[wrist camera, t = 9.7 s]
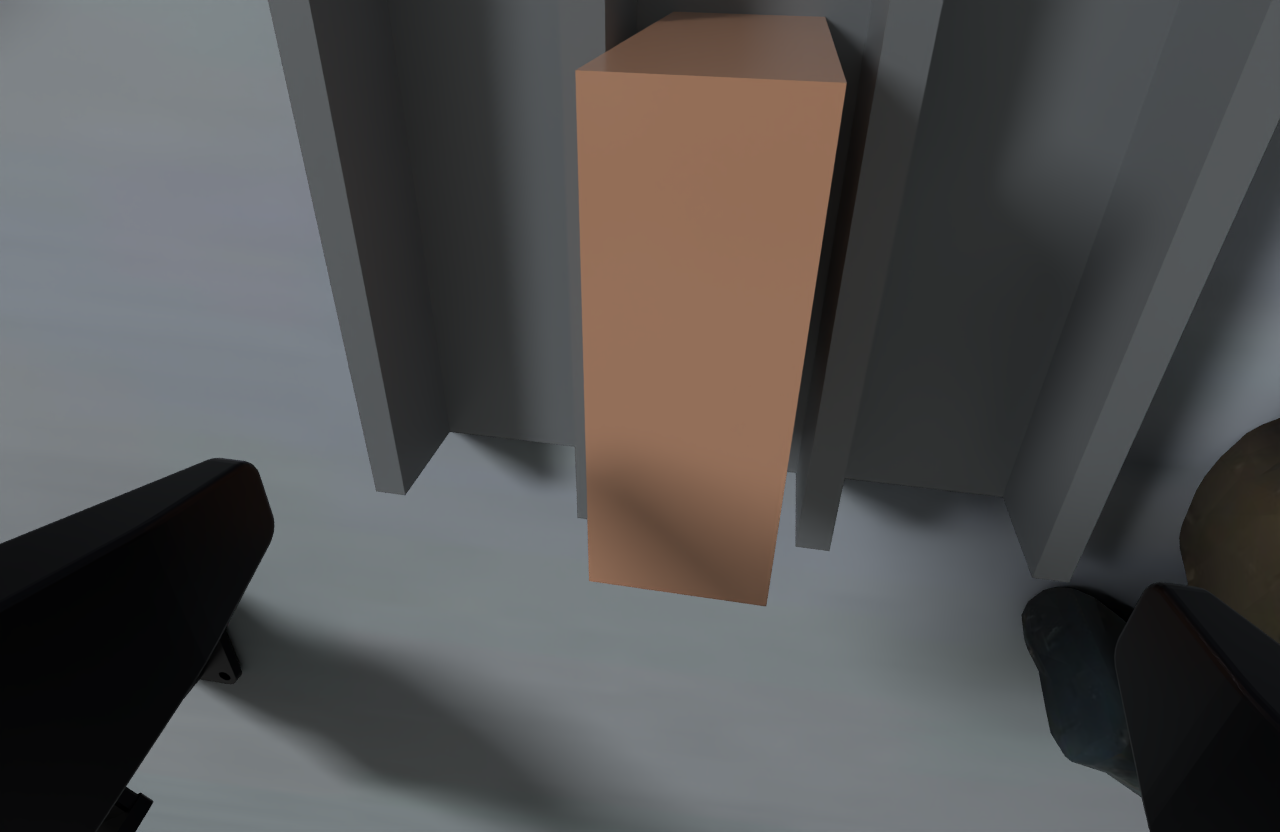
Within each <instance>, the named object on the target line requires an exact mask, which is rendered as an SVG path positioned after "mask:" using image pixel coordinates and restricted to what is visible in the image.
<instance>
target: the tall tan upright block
mask: <svg viewBox="0 0 1280 832" xmlns="http://www.w3.org/2000/svg"><path fill="white" fill-rule="evenodd" d="M575 77H576V113H577V150H578V187H579V224H580V261H581V298H582V335H583V372H584V408H585V445H586V482H587V519H588V556H589V581H593V582H600V583H607V584H614V585H621V586H628V587H635V588H642V589H649V590H656V591H663V592H670V593H677V594H684V595H691V596H698V597H705V598H712V599H719V600H726V601H733V602H740V603H747V604H753V605H760V606H766V604H767V598H768V591H769V585H770V578H771V572H772V565H773V559H774V552H775V546H776V539H777V533H778V526H779V520H780V513H781V507H782V500H783V494H784V487H785V481H786V474H787V468H788V461H789V455H790V448H791V442H792V435H793V429H794V422H795V416H796V409H797V403H798V396H799V390H800V383H801V377H802V370H803V364H804V357H805V351H806V344H807V338H808V331H809V325H810V318H811V312H812V305H813V299H814V292H815V286H816V279H817V273H818V266H819V260H820V253H821V247H822V240H823V234H824V227H825V221H826V214H827V208H828V201H829V195H830V188H831V182H832V175H833V169H834V162H835V156H836V149H837V143H838V136H839V130H840V123H841V117H842V110H843V104H844V97H845V91H846V84H847V82H846V79H845V76H844V73H843V70H842V67H841V64H840V61H839V58H838V55H837V52H836V49H835V46H834V42H833V39H832V36H831V33H830V30H829V27H828V24H827V21H826V18H825V17H814V16H786V15H757V14H728V13H700V12H672V13H670V14H669V15H667V16H665V17H664V18H662V19H660V20H659V21H657V22H655V23H654V24H652V25H650V26H649V27H647V28H645V29H644V30H642V31H640V32H638V33H637V34H635V35H633V36H632V37H630V38H628V39H627V40H625V41H623V42H622V43H620V44H618V45H617V46H615V47H613V48H612V49H610V50H608V51H607V52H605V53H603V54H602V55H600V56H598V57H597V58H595V59H593V60H592V61H590V62H588V63H587V64H585V65H583V66H582V67H580V68H578V69H577V70H575Z"/></svg>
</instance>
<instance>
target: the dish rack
mask: <svg viewBox="0 0 1280 832" xmlns="http://www.w3.org/2000/svg"><path fill="white" fill-rule="evenodd" d="M268 2H269V7H270V12H271V16H272V21H273V25H274V30H275V34H276V39H277V43H278V48H279V52H280V57H281V61H282V66H283V70H284V75H285V80H286V84H287V89H288V93H289V98H290V102H291V107H292V111H293V116H294V120H295V125H296V129H297V134H298V138H299V143H300V148H301V152H302V157H303V161H304V166H305V170H306V175H307V179H308V184H309V188H310V193H311V197H312V202H313V206H314V211H315V216H316V220H317V225H318V229H319V234H320V238H321V243H322V247H323V252H324V256H325V261H326V265H327V270H328V274H329V279H330V284H331V288H332V293H333V297H334V302H335V306H336V311H337V315H338V320H339V324H340V329H341V333H342V338H343V342H344V347H345V351H346V356H347V361H348V365H349V370H350V374H351V379H352V383H353V388H354V392H355V397H356V401H357V406H358V410H359V415H360V419H361V424H362V429H363V433H364V438H365V442H366V447H367V451H368V456H369V460H370V465H371V469H372V474H373V478H374V483H375V487H376V491H378V492H385V493H393V494H400V495H406V493H407V492H408V490H409V489H410V488H411V486H412V485H413V483H414V482H415V481H416V479H417V478H418V476H419V475H420V473H421V472H422V471H423V469H424V468H425V466H426V465H427V463H428V462H429V461H430V459H431V458H432V456H433V455H434V454H435V452H436V451H437V449H438V448H439V446H440V445H441V444H442V442H443V441H444V439H445V438H446V437H447V435H448V434H449V432H456V433H464V434H473V435H481V436H490V437H498V438H506V439H515V440H523V441H532V442H540V443H549V444H557V445H566V446H574V447H575V461H576V488H577V516H578V518H583V519H587V482H586V445H585V408H584V372H583V335H582V298H581V261H580V224H579V187H578V150H577V113H576V77H575V70H577V69H578V68H580V67H582V66H583V65H585V64H587V63H588V62H590V61H592V60H593V59H595V58H597V57H598V56H600V55H602V54H603V53H605V52H607V51H608V50H610V49H612V48H613V47H615V46H617V45H618V44H620V43H622V42H623V41H625V40H627V39H628V38H630V37H632V36H633V35H635V34H637V33H638V32H640V31H642V30H644V29H645V28H647V27H649V26H650V25H652V24H654V23H655V22H657V21H659V20H660V19H662V18H664V17H665V16H667V15H669V14H670V13H672V12H700V13H728V14H757V15H786V16H814V17H825V18H826V21H827V24H828V27H829V30H830V33H831V36H832V39H833V42H834V46H835V49H836V52H837V55H838V58H839V61H840V64H841V67H842V70H843V73H844V76H845V79H846V82H847V84H846V91H845V97H844V104H843V110H842V117H841V123H840V130H839V136H838V143H837V149H836V156H835V162H834V169H833V175H832V182H831V188H830V195H829V201H828V208H827V214H826V221H825V227H824V234H823V240H822V247H821V253H820V260H819V266H818V273H817V279H816V286H815V292H814V299H813V305H812V312H811V318H810V325H809V331H808V338H807V344H806V351H805V357H804V364H803V370H802V377H801V383H800V390H799V396H798V403H797V409H796V416H795V422H794V429H793V435H792V442H791V448H790V455H789V461H788V468H787V472H794V473H796V547H803V548H810V549H818V550H825V551H829V550H830V545H831V541H832V536H833V531H834V526H835V521H836V516H837V512H838V507H839V502H840V497H841V492H842V487H843V483H844V478H845V479H853V480H862V481H870V482H879V483H887V484H896V485H904V486H913V487H921V488H929V489H938V490H946V491H955V492H963V493H972V494H980V495H989V496H997V497H1003V499H1004V501H1005V504H1006V507H1007V510H1008V512H1009V515H1010V518H1011V521H1012V523H1013V526H1014V529H1015V532H1016V534H1017V537H1018V540H1019V543H1020V545H1021V548H1022V551H1023V554H1024V556H1025V559H1026V562H1027V564H1028V567H1029V570H1030V573H1031V575H1032V578H1038V579H1046V580H1053V581H1061V582H1068V583H1069V582H1070V580H1071V577H1072V575H1073V573H1074V571H1075V569H1076V566H1077V564H1078V562H1079V560H1080V558H1081V555H1082V553H1083V551H1084V549H1085V547H1086V544H1087V542H1088V540H1089V538H1090V536H1091V533H1092V531H1093V529H1094V527H1095V525H1096V522H1097V520H1098V518H1099V516H1100V514H1101V511H1102V509H1103V507H1104V505H1105V503H1106V500H1107V498H1108V496H1109V494H1110V492H1111V489H1112V487H1113V485H1114V483H1115V481H1116V478H1117V476H1118V474H1119V472H1120V469H1121V467H1122V465H1123V463H1124V461H1125V458H1126V456H1127V454H1128V452H1129V450H1130V447H1131V445H1132V443H1133V441H1134V439H1135V436H1136V434H1137V432H1138V430H1139V428H1140V425H1141V423H1142V421H1143V419H1144V417H1145V414H1146V412H1147V410H1148V408H1149V406H1150V403H1151V401H1152V399H1153V397H1154V395H1155V392H1156V390H1157V388H1158V386H1159V384H1160V381H1161V379H1162V377H1163V375H1164V373H1165V370H1166V368H1167V366H1168V364H1169V362H1170V359H1171V357H1172V355H1173V353H1174V351H1175V348H1176V346H1177V344H1178V342H1179V340H1180V337H1181V335H1182V333H1183V331H1184V329H1185V326H1186V324H1187V322H1188V320H1189V317H1190V315H1191V313H1192V311H1193V309H1194V306H1195V304H1196V302H1197V300H1198V298H1199V295H1200V293H1201V291H1202V289H1203V287H1204V284H1205V282H1206V280H1207V278H1208V276H1209V273H1210V271H1211V269H1212V267H1213V265H1214V262H1215V260H1216V258H1217V256H1218V254H1219V251H1220V249H1221V247H1222V245H1223V243H1224V240H1225V238H1226V236H1227V234H1228V232H1229V229H1230V227H1231V225H1232V223H1233V221H1234V218H1235V216H1236V214H1237V212H1238V210H1239V207H1240V205H1241V203H1242V201H1243V199H1244V196H1245V194H1246V192H1247V190H1248V188H1249V185H1250V183H1251V181H1252V179H1253V177H1254V174H1255V172H1256V170H1257V168H1258V165H1259V163H1260V161H1261V159H1262V157H1263V154H1264V152H1265V150H1266V148H1267V146H1268V143H1269V141H1270V139H1271V137H1272V135H1273V132H1274V130H1275V128H1276V126H1277V124H1278V121H1279V119H1280V0H268Z"/></svg>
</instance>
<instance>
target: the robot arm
mask: <svg viewBox="0 0 1280 832" xmlns="http://www.w3.org/2000/svg"><path fill="white" fill-rule="evenodd" d="M273 533H274V518H273V514H272V511H271V508H270V505H269V502H268V499H267V496H266V493H265V489H264V486H263V483H262V480H261V477H260V474H259V472H258V470H257V469H256V468H255V467H254V465H253V464H251V463H249V462H246V461H240V460H232V459H225V458H213V459H209V460H206V461H204V462H201V463H199V464H196V465H194V466H191V467H189V468H186V469H184V470H181V471H179V472H177V473H174V474H172V475H169V476H167V477H164V478H162V479H159V480H157V481H154V482H152V483H149V484H147V485H144V486H142V487H139V488H137V489H135V490H132V491H130V492H127V493H125V494H122V495H120V496H117V497H115V498H112V499H110V500H107V501H105V502H102V503H100V504H97V505H95V506H92V507H90V508H88V509H85V510H83V511H80V512H78V513H75V514H73V515H70V516H68V517H65V518H63V519H60V520H58V521H55V522H53V523H50V524H48V525H46V526H43V527H41V528H38V529H36V530H33V531H31V532H28V533H26V534H23V535H21V536H18V537H16V538H13V539H11V540H8V541H6V542H4V543H1V544H0V832H136V830H137V828H138V827H139V825H140V823H141V822H142V820H143V818H144V817H145V815H146V814H147V812H148V810H149V809H150V807H151V805H152V804H153V800H151V799H150V798H148V797H147V796H145V795H144V794H142V793H139V794H136V793H135V792H133V791H132V790H130V789H129V788H127V787H126V786H127V784H128V783H129V781H130V780H131V778H132V777H133V775H134V774H135V772H136V771H137V769H138V767H139V766H140V764H141V763H142V761H143V760H144V758H145V757H146V755H147V754H148V752H149V751H150V749H151V748H152V746H153V745H154V743H155V742H156V740H157V739H158V737H159V736H160V734H161V732H162V731H163V729H164V728H165V726H166V725H167V723H168V722H169V720H170V719H171V717H172V716H173V714H174V713H175V711H176V710H177V708H178V707H179V705H180V704H181V702H182V701H183V699H184V698H185V697H186V695H187V694H188V693H189V692H190V691H191V689H192V688H193V687H194V686H195V684H196V683H197V682H198V681H199V679H202V680H208V681H213V682H219V683H225V684H234V683H235V682H236V681H237V680H238V678H239V677H240V676H241V674H242V670H241V667H240V665H239V662H238V660H237V658H236V655H235V653H234V650H233V648H232V645H231V643H230V641H229V638H228V636H227V633H226V631H225V628H226V626H227V624H228V623H229V621H230V619H231V617H232V615H233V613H234V611H235V609H236V607H237V605H238V604H239V602H240V600H241V598H242V596H243V594H244V592H245V590H246V588H247V586H248V585H249V583H250V581H251V579H252V577H253V575H254V573H255V571H256V569H257V567H258V565H259V564H260V562H261V560H262V558H263V556H264V554H265V552H266V550H267V548H268V546H269V545H270V542H271V540H272V537H273ZM1114 658H1115V669H1116V674H1117V679H1118V684H1119V689H1120V694H1121V699H1122V704H1123V708H1124V713H1125V718H1126V723H1127V728H1128V733H1129V738H1130V743H1131V748H1132V752H1133V757H1134V762H1135V767H1136V772H1137V777H1138V782H1139V787H1140V792H1141V797H1142V801H1143V805H1144V810H1145V814H1146V818H1147V822H1148V827H1149V830H1150V832H1280V644H1279V643H1278V642H1276V641H1275V640H1274V639H1272V638H1271V637H1270V636H1268V635H1267V634H1266V633H1264V632H1263V631H1262V630H1260V629H1259V628H1258V627H1256V626H1255V625H1254V624H1252V623H1251V622H1250V621H1248V620H1247V619H1246V618H1244V617H1243V616H1242V615H1240V614H1239V613H1238V612H1236V611H1235V610H1234V609H1232V608H1231V607H1230V606H1228V605H1227V604H1225V603H1224V602H1223V601H1221V600H1220V599H1219V598H1217V597H1216V596H1215V595H1213V594H1212V593H1210V592H1209V591H1207V590H1205V589H1202V588H1199V587H1194V586H1186V585H1179V584H1171V583H1163V582H1159V583H1154V584H1152V585H1150V586H1149V587H1147V588H1146V589H1145V591H1144V592H1143V594H1142V595H1141V597H1140V599H1139V601H1138V603H1137V605H1136V607H1135V608H1134V610H1133V612H1132V614H1131V616H1130V618H1129V620H1128V621H1127V623H1126V625H1125V627H1124V629H1123V631H1122V633H1121V635H1120V636H1119V638H1118V641H1117V644H1116V648H1115V655H1114Z"/></svg>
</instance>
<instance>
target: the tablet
mask: <svg viewBox="0 0 1280 832" xmlns="http://www.w3.org/2000/svg"><path fill="white" fill-rule="evenodd" d="M1179 539H1180V551H1181V555H1182V559H1183V563H1184V568H1185V572H1186V577H1187V582H1188V586H1194V587H1199V588H1202V589H1205V590H1207V591H1209V592H1210V593H1212V594H1213V595H1215V596H1216V597H1217V598H1219V599H1220V600H1221V601H1223V602H1224V603H1225V604H1227V605H1228V606H1230V607H1231V608H1232V609H1234V610H1235V611H1236V612H1238V613H1239V614H1240V615H1242V616H1243V617H1244V618H1246V619H1247V620H1248V621H1250V622H1251V623H1252V624H1254V625H1255V626H1256V627H1258V628H1259V629H1260V630H1262V631H1263V632H1264V633H1266V634H1267V635H1268V636H1270V637H1271V638H1272V639H1274V640H1275V641H1276V642H1278V643H1279V644H1280V418H1279V419H1276V420H1273V421H1271V422H1268V423H1266V424H1263V425H1261V426H1259V427H1257V428H1255V429H1254V430H1252V431H1250V432H1248V433H1246V434H1245V435H1244V436H1243V437H1242V438H1241V439H1240V440H1239V441H1238V442H1237V443H1236V444H1235V445H1233V446H1232V447H1231V448H1230V449H1229V450H1228V451H1227V452H1226V453H1225V454H1224V455H1223V456H1221V457H1220V459H1219V460H1218V461H1217V462H1216V463H1215V465H1214V466H1213V467H1212V468H1211V470H1210V471H1209V472H1208V473H1207V475H1206V476H1205V477H1204V479H1203V481H1202V482H1201V484H1200V485H1199V487H1198V489H1197V490H1196V493H1195V495H1194V497H1193V500H1192V502H1191V505H1190V507H1189V510H1188V512H1187V514H1186V517H1185V519H1184V522H1183V524H1182V527H1181V532H1180V537H1179ZM1022 623H1023V632H1024V640H1025V643H1026V646H1027V649H1028V651H1029V653H1030V655H1031V657H1032V659H1033V661H1034V663H1035V665H1036V667H1037V669H1038V671H1039V675H1040V681H1041V686H1042V691H1043V697H1044V702H1045V707H1046V712H1047V717H1048V722H1049V727H1050V732H1051V734H1052V736H1053V738H1054V739H1055V741H1056V742H1057V744H1058V746H1059V747H1060V749H1061V751H1062V752H1063V754H1064V755H1065V757H1067V758H1068V759H1069V760H1071V761H1072V762H1075V763H1078V764H1081V765H1084V766H1087V767H1090V768H1093V769H1096V770H1100V771H1103V772H1106V773H1107V774H1108V775H1110V776H1111V777H1113V778H1114V779H1116V780H1117V781H1119V782H1120V783H1121V784H1123V785H1124V786H1126V787H1127V788H1129V789H1130V790H1132V791H1133V792H1134V793H1136V794H1137V795H1139V796H1140V797H1141V792H1140V787H1139V782H1138V777H1137V772H1136V767H1135V762H1134V757H1133V752H1132V748H1131V743H1130V738H1129V733H1128V728H1127V723H1126V718H1125V713H1124V708H1123V704H1122V699H1121V694H1120V689H1119V684H1118V679H1117V674H1116V669H1115V658H1114V655H1115V648H1116V644H1117V641H1118V638H1119V636H1120V635H1121V633H1122V631H1123V629H1124V627H1125V625H1126V622H1125V621H1124V620H1123V619H1122V618H1120V617H1119V616H1118V615H1116V614H1115V613H1114V612H1113V611H1111V610H1110V609H1109V608H1107V607H1106V606H1105V605H1103V604H1102V603H1101V602H1100V601H1098V600H1097V599H1096V598H1094V597H1092V596H1090V595H1087V594H1085V593H1083V592H1080V591H1078V590H1075V589H1073V588H1065V587H1055V588H1051V589H1047V590H1043V591H1042V592H1041V593H1039V594H1038V595H1037V596H1035V597H1034V598H1033V599H1031V600H1030V601H1029V602H1028V604H1027V605H1026V607H1025V609H1024V611H1023V613H1022ZM1141 798H1142V797H1141Z"/></svg>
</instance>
